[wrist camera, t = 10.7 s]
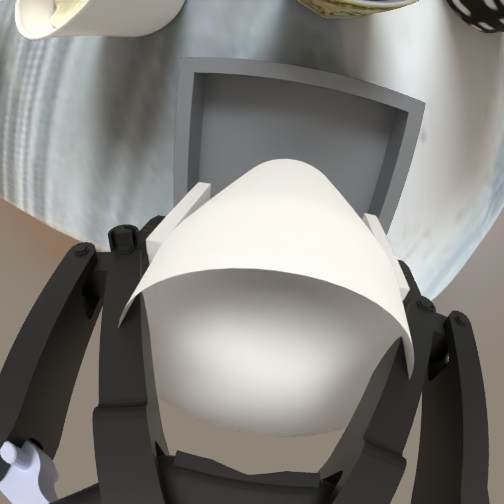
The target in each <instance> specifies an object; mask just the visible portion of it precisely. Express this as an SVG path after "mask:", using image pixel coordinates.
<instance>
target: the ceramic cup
mask: <svg viewBox="0 0 504 504" xmlns="http://www.w3.org/2000/svg"><path fill="white" fill-rule="evenodd" d="M297 1H298V2H299V3H301V4H302V5H304V6H305V7H307V8H309V9H310V10H312V11H313V12H315V13H316V14H318V15H319V16H321V17H323V18H350V19H355V18H360V17H362V16H366V15H370V14H373V13H379V12H385V11H389V10H393V9H397V8H401V7H404V6H406V5H409V4H412V3H415V2H417V1H419V0H297Z"/></svg>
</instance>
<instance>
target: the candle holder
mask: <svg viewBox="0 0 504 504" xmlns="http://www.w3.org/2000/svg"><path fill="white" fill-rule="evenodd" d="M184 2H185V0H16V5H15V23H16V27H17V29H18V31H19V33H20V34H21V35H22V36H23V37H24V38H26V39H29V40H44V39H47V38H56V37H72V36H118V37H140V36H145V35H148V34H151V33H154V32H156V31H158V30H159V29H161V28H163V27H164V26H166V25H167V24H168V23H169V22H170V21H172V20H173V19H174V17H175V16H176V15H177V14H178V13H179V11H180V10H181V8H182V6H183V4H184Z"/></svg>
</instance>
